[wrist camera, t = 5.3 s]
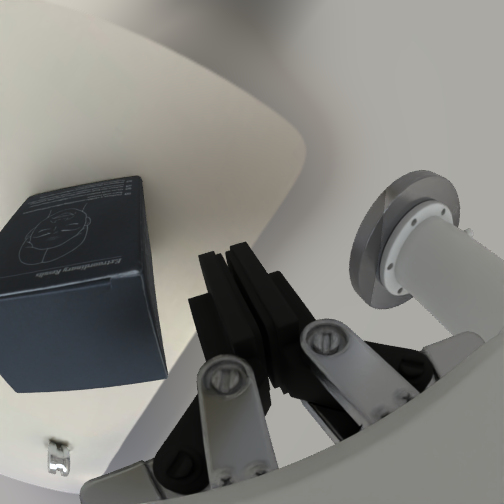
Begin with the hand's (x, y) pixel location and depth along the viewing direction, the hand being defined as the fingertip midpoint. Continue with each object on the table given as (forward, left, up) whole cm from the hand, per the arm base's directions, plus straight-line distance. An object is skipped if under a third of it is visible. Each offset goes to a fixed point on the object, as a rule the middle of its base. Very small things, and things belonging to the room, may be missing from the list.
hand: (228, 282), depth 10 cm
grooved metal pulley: (+29, +28, -10) cm, 41 cm away
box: (+7, 0, -10) cm, 12 cm away
